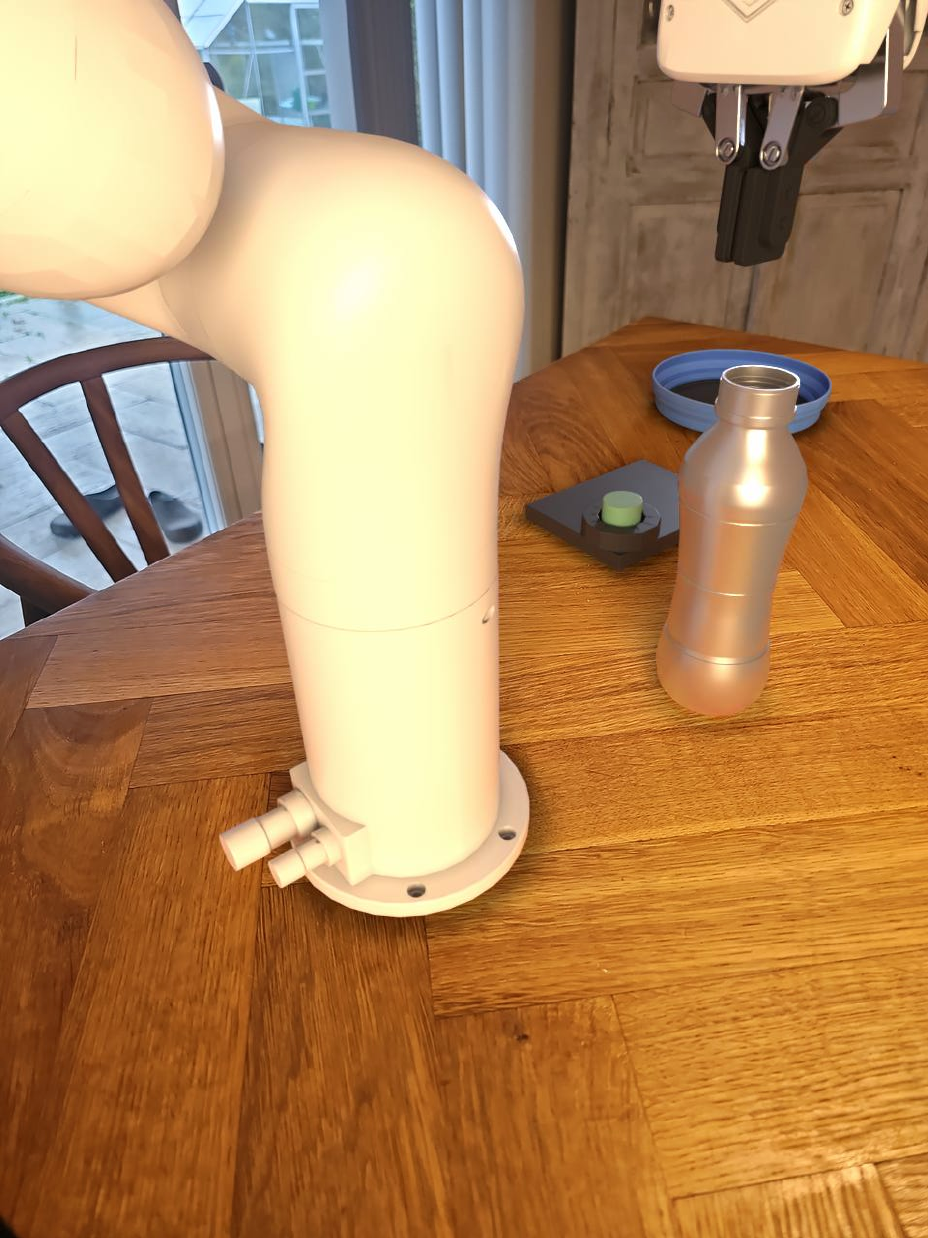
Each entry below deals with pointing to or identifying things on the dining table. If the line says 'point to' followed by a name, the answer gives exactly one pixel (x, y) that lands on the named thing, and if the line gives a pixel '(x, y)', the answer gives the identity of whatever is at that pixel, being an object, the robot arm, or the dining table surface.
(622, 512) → the button
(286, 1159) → the dining table surface
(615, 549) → the scale
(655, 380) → the bowl
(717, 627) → the silver metal bottle
